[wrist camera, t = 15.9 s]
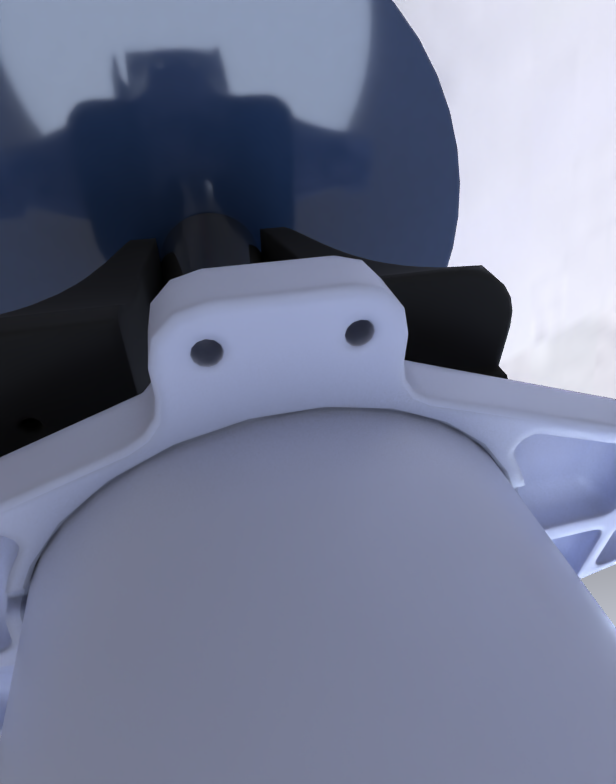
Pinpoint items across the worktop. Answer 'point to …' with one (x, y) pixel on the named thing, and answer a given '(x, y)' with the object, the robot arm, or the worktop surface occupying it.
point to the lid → (215, 136)
